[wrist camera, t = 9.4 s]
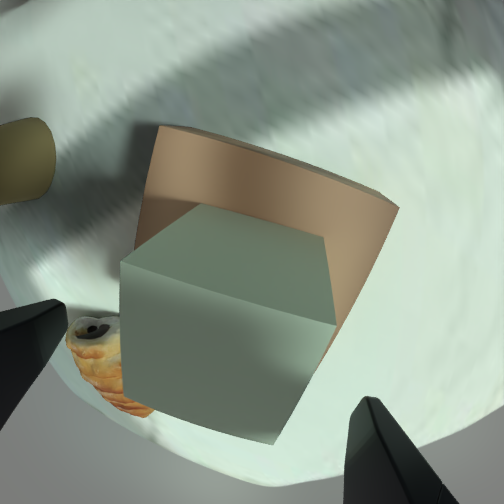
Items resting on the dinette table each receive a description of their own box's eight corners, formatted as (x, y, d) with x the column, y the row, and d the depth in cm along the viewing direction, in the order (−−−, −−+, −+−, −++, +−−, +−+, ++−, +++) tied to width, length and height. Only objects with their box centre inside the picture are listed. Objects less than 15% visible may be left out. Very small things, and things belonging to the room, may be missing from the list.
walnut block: (377, 190, 15) (399, 207, 11) (306, 342, 18) (304, 387, 15) (193, 127, 15) (159, 125, 11) (156, 287, 19) (125, 321, 15)
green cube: (323, 237, 12) (336, 326, 6) (287, 337, 14) (273, 445, 8) (200, 203, 12) (120, 260, 7) (184, 306, 14) (123, 396, 9)
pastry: (180, 406, 23) (164, 440, 19) (116, 397, 24) (97, 425, 20) (139, 310, 19) (110, 343, 16) (72, 311, 21) (43, 336, 17)
